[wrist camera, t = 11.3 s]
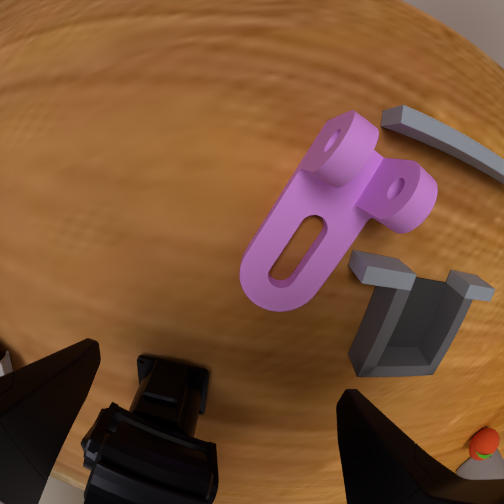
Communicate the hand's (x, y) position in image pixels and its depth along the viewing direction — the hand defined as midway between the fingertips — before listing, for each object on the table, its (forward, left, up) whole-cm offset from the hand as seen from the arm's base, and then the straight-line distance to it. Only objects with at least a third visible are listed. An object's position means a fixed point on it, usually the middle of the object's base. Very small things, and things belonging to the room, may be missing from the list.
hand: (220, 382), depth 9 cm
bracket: (+3, -4, -12) cm, 13 cm away
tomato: (-29, -50, -12) cm, 59 cm away
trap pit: (-2, -15, -12) cm, 19 cm away
